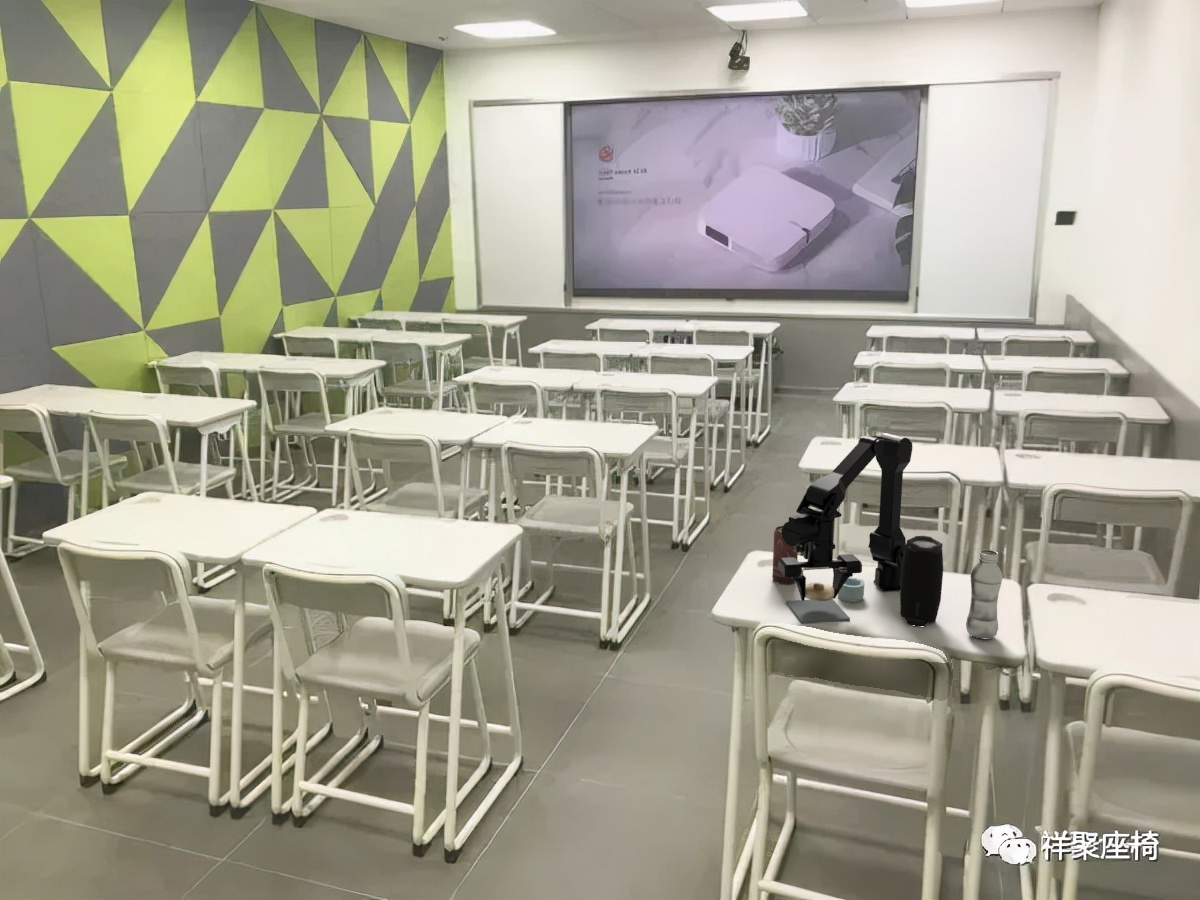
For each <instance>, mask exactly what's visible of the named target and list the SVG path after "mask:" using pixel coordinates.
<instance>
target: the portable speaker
mask: <svg viewBox="0 0 1200 900" xmlns="http://www.w3.org/2000/svg"><path fill="white" fill-rule="evenodd" d="M943 576H944V558H943V542H940V541H938V540H936V539H935V538H933V537H932V536H927V535H915V536H913V537H912V538H909V539H907V540H906V547H905V552H904V556H903V561H902V570H901V585H900V591H899V606H900V607H899V610H900V612H899V613H900V616H901V617H902V618H903V619H904V620H905V622H906V624H907V625H909V626H910V625H915V626H914V627H916V626H925V627H926V626H927V625H928V624H931V623H933V622H935V623H936V622H937V621H936V620H937V616H938V613H939V608H940V604H941V599H942V587H943Z"/></svg>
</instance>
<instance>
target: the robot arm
mask: <svg viewBox="0 0 1200 900" xmlns="http://www.w3.org/2000/svg"><path fill="white" fill-rule="evenodd" d="M912 453H913V442H912V441H911V440H910V439H909V438H908V437H905V436H901V435H898V434H897V435H896V434H892V433H887V432H884V433H882V434H881V435H880V436H879V435H867V434H866V435H863V436H861V437H860V438H859V439H858V441H857V444H856V445H855V446H854V447H853V448H852V450H851V451H850V452H849V453H848V454H847V455H846V456H845V457H844V458H843V460H842V461H841V462H840V463H839V464H837V466H836V467H835V468H834V469H833V470H832V471H831V472H830V473H829V474H827V475H826V474H825V476H822V477H819V478H817V479H816V480H815V481H814V482H812V483H811V484H810V485H809V486H808V488H807V489H806V491H805V493H804V495H803V497H802V500H801V501H800V502H799V505H798V507H797V509H796V513H798V515H790V516H789V517H788V521H787V522H785V523H784V524H783V525H782V526H783V528H782V531H781V532H782V537H783V540H784V541H785V543H786V544H787V545H789V546H793V552H796V553H797V552H798V553H800V557H803V559H804V560H807V561H799V560H798V558H797V559H796V558H795V557H792V558H781V559H780V560H779V562H778V569H779V571H780V572H781V573H782V574H783V575H784V577H791V578H792V579H793V580H795V583H796V587H797V590H798V593H799V596H800V599H801V600H802V601H804V600H806V597H805V588H806V584H807V577H806V576H805V575H804V571H811V570H829V569H832V572H833V577H832V585H831V586H832V587H833V588H834V597H833V600H834V599H836V597H838V593H839V591H840V589H841V588H842V586H843V585H844V583H845V582H846V581H847V579H848V578H849V577H851V578H853V575H854V574H861V573H862V571H863V564H862V561H861V560H860V559H858V558H857V556H855V554H853V553H848V554H847V553H846V554H839V555H837V557H836V558H837V559H833V558H834V550H836V544H835V543H834V541H835V539H834V538H835V523H836V518H841V517H842V513H841V512H840V511H839V510H838V509H839V507H840V506H841V505H842V503H843V502H844V500H845V498H846V496H847V495H846V493H847V490H848V488H849V487H850V485H851V484H852V482H854V481H855V479H857V477H858V476H859V475H860V474H861V473H862V471H863V470H865V468H866V467H867V466H868V465H869V464H870V463H871V461H873V459H875V460H876V462H877V464H878V466H879V468H880V469H881V474H880V475H881V477H880V479H881V480H880V497H879V498H880V499H879V515H878V516H879V517H878V526H877V527H876V529H875V530H874V531H873V532H870V533H869V542H868V549H869V552H870V554H871V557H872V561H874V562H877V567H875V574H874V579H873V584H875V585H876V586H877V587H878V588H879V589H880V590H881V591H882V592H900V585H901V570H902V561H903V556H904V552H905V547H906V543H907V540H906V537H905V535H904V532H903V530H902V528H901V511H902V509H901V508H902V492H903V475H904V471H905V469H906V468H907V466H908V465H909V464H910V462H911V459H912ZM810 507H812V508H810ZM816 509H817V510H816Z"/></svg>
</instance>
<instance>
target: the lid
mask: <svg viewBox="0 0 1200 900" xmlns="http://www.w3.org/2000/svg"><path fill="white" fill-rule="evenodd" d="M833 597H834V588H833V587H832V585H830V584H827V583H825V582H824V583H823V582H809V583H806V588H805V599H807V600H815V601H827V600H831V599H833ZM833 600H834V599H833Z"/></svg>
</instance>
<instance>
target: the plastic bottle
mask: <svg viewBox="0 0 1200 900" xmlns="http://www.w3.org/2000/svg"><path fill="white" fill-rule="evenodd" d="M978 561H979V562H977V563H976V564H975V565H974V566H973V567H972V569H971V571H970V586H971V587H970V588H971V590H970V591H971V592H970V593H971V594H970V596H971V597H970V606H969V611H968V615H967V618H966V622H965V629H966V632H967V633H968V635H969V636H971V635H972V636H974V637H973V638H975V637H978V638H992V639H994V638H995V637H996V636H997V634H998V631H999V621H998V602H999V600H998V599H999V596H1000V590H1001V587H1002V583H1003V577H1004V576H1003V573H1002V571H1001V569H1000V567H999V565H998V564H997V563H998V561H999V553H998V552H997V551H995V550H992V549H982V550H980V551H979V555H978ZM972 636H971V637H972ZM993 637H994V638H993ZM978 638H977V639H978Z"/></svg>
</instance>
